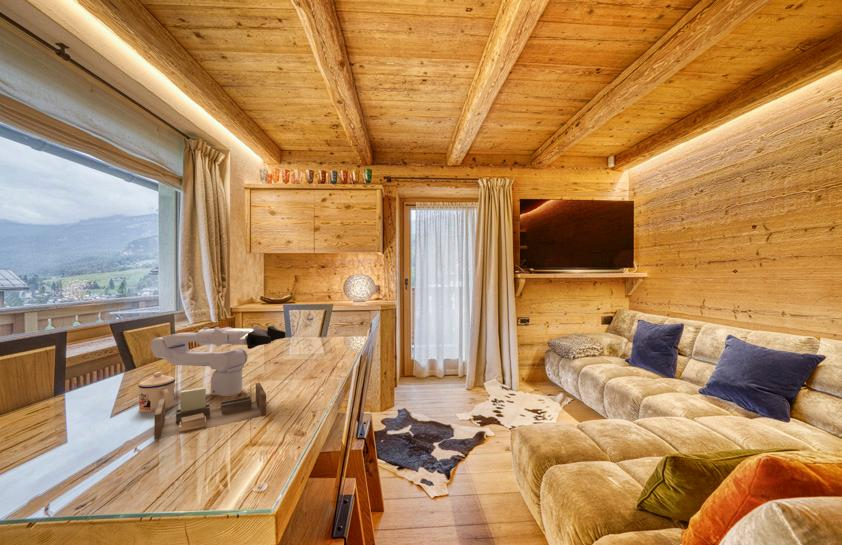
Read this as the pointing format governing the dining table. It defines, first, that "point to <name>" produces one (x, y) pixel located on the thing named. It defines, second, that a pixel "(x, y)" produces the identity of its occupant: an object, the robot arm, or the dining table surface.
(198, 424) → the offcut lower
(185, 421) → the offcut upper
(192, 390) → the beige flat block
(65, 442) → the dining table surface
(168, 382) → the teacup with lid
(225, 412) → the rack
